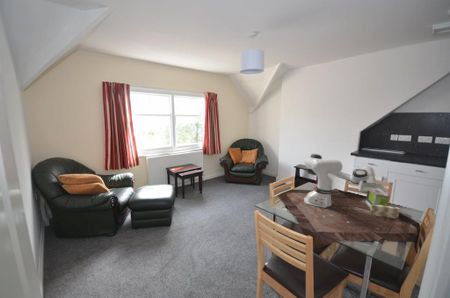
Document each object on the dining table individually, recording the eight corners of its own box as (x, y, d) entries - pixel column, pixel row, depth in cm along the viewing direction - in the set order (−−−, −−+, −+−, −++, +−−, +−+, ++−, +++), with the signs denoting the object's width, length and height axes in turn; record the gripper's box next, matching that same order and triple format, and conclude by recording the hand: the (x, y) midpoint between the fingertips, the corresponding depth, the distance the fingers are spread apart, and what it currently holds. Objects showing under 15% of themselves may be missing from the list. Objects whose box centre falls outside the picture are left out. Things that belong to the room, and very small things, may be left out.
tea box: (386, 212, 164) (390, 195, 161) (372, 211, 167) (375, 194, 163) (377, 204, 179) (380, 188, 175) (365, 202, 181) (367, 187, 178)
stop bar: (370, 215, 161) (372, 205, 159) (369, 213, 163) (370, 204, 162) (397, 218, 156) (399, 209, 154) (395, 216, 159) (397, 207, 157)
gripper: (382, 185, 186) (385, 200, 179) (356, 183, 191) (359, 197, 184) (385, 183, 181) (388, 198, 174) (359, 180, 186) (361, 195, 179)
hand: (373, 197), depth 179 cm, fingers closed
